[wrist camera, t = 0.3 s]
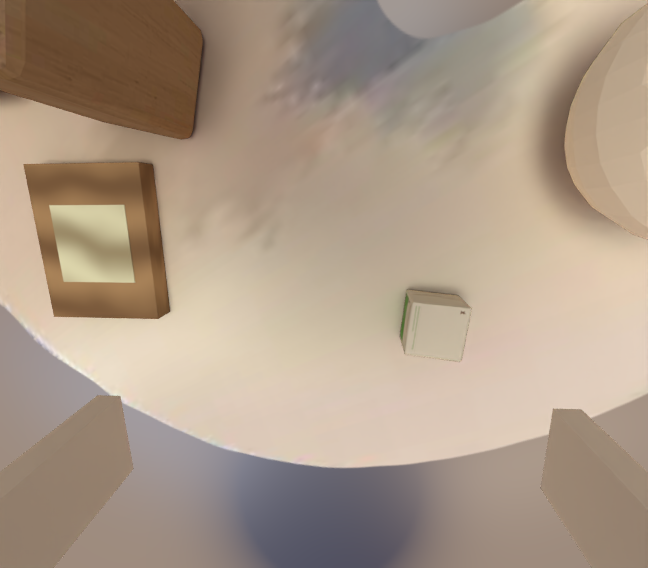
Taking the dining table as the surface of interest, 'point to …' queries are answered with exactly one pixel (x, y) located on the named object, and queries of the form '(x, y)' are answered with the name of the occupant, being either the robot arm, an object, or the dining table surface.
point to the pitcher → (614, 128)
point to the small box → (434, 325)
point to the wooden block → (104, 60)
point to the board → (100, 239)
